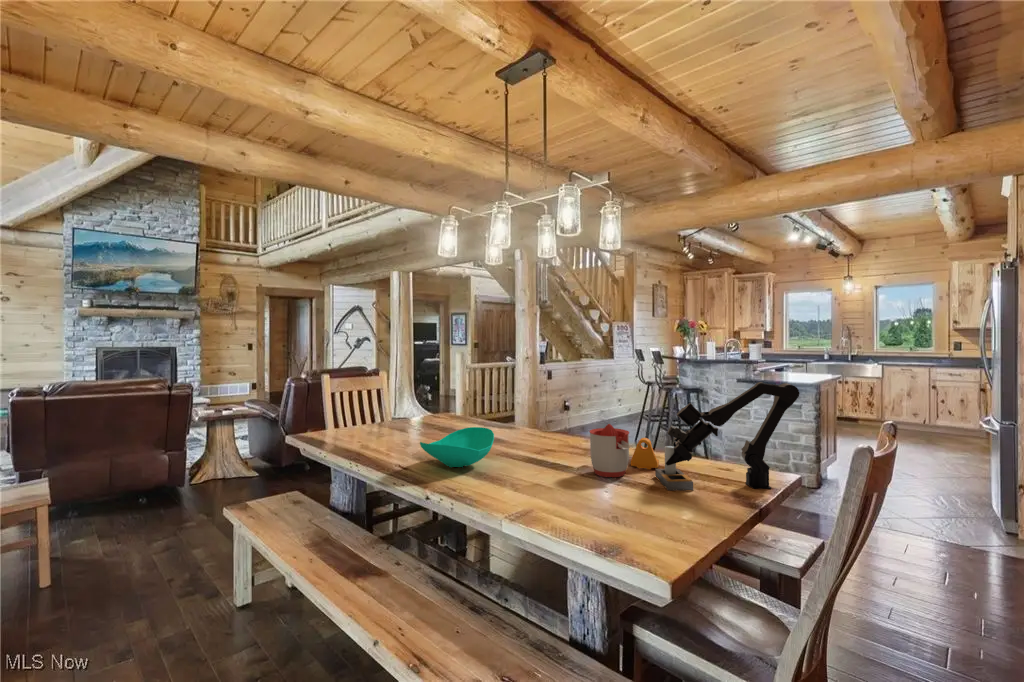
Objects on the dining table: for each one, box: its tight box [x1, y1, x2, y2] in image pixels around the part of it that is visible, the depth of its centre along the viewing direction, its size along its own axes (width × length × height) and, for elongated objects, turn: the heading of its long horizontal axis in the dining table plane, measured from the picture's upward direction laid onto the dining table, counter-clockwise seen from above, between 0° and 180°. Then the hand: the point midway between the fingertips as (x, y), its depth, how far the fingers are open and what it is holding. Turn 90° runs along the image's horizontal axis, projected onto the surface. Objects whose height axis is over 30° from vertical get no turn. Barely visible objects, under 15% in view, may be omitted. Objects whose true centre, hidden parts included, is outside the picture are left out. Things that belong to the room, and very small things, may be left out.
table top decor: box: [419, 426, 495, 468], centre depth 203 cm, size 40×28×13 cm
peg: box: [664, 445, 677, 474], centre depth 178 cm, size 4×4×12 cm
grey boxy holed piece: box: [654, 468, 694, 491], centre depth 175 cm, size 9×17×3 cm, turn 177°
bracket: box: [630, 437, 660, 470], centre depth 198 cm, size 11×7×12 cm, turn 68°
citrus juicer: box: [588, 423, 630, 478], centre depth 187 cm, size 16×17×20 cm
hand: (666, 462), depth 179 cm, fingers open, 6 cm apart
